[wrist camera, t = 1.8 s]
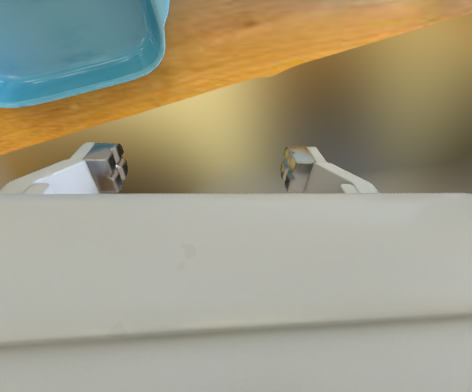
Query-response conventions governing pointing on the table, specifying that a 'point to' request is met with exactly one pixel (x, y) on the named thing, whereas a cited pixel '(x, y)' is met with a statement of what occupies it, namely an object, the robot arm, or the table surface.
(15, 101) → the casserole dish
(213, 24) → the table surface
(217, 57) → the table surface
